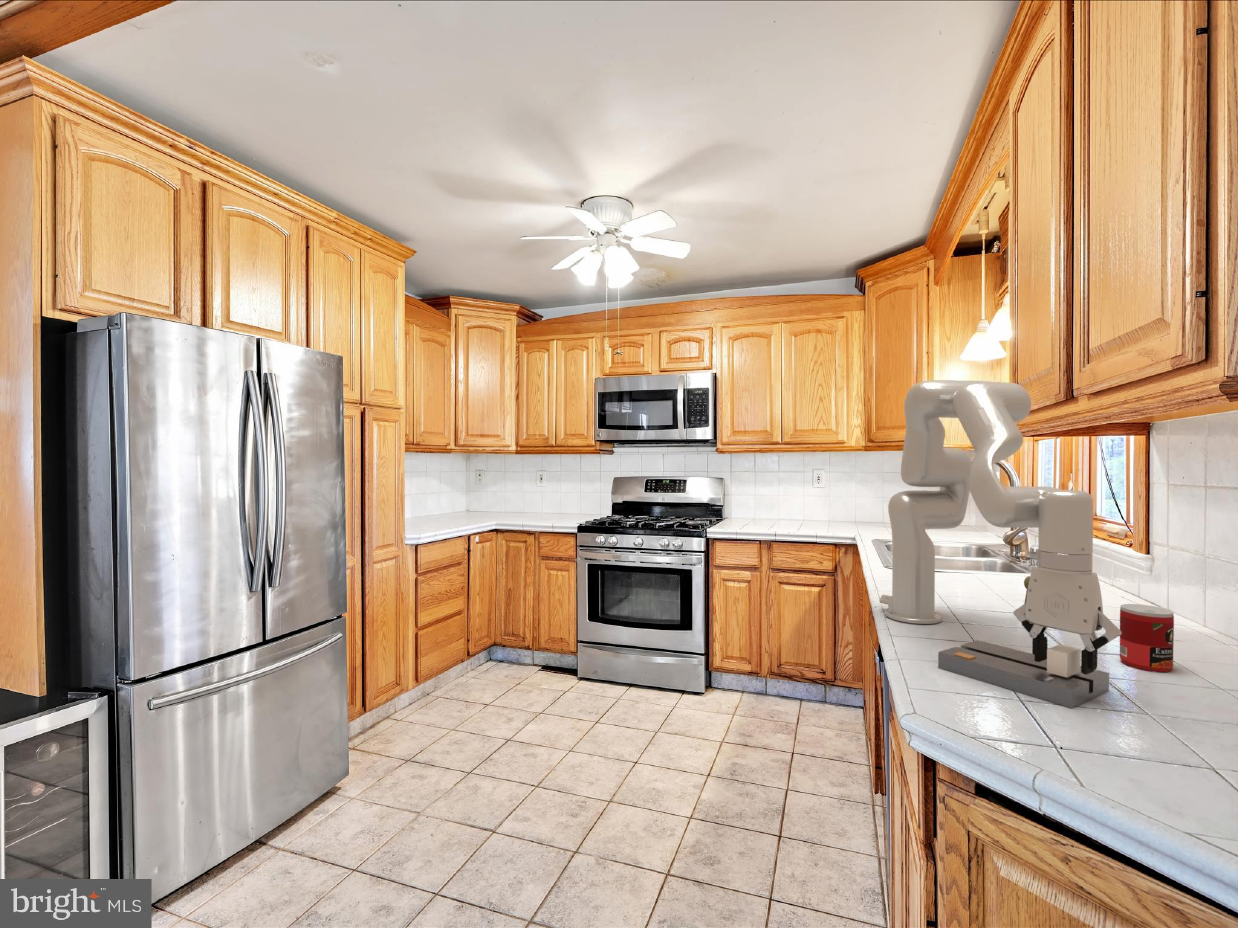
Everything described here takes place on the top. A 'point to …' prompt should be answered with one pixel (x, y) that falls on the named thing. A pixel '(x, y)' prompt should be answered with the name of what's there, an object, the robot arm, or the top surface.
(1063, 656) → the fader knob
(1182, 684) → the top surface
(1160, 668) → the canned food
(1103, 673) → the fader console
